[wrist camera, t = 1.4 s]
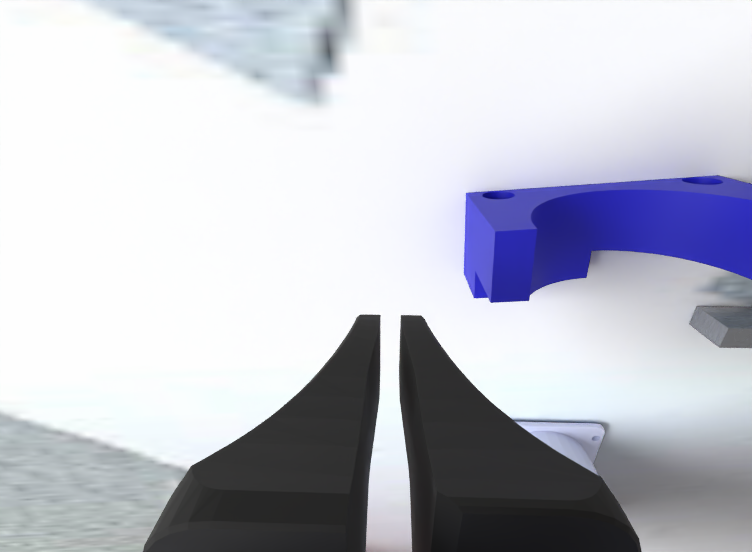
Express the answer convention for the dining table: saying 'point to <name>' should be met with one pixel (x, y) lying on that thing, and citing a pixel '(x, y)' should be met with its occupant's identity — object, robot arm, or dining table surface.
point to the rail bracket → (724, 325)
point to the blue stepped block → (601, 230)
